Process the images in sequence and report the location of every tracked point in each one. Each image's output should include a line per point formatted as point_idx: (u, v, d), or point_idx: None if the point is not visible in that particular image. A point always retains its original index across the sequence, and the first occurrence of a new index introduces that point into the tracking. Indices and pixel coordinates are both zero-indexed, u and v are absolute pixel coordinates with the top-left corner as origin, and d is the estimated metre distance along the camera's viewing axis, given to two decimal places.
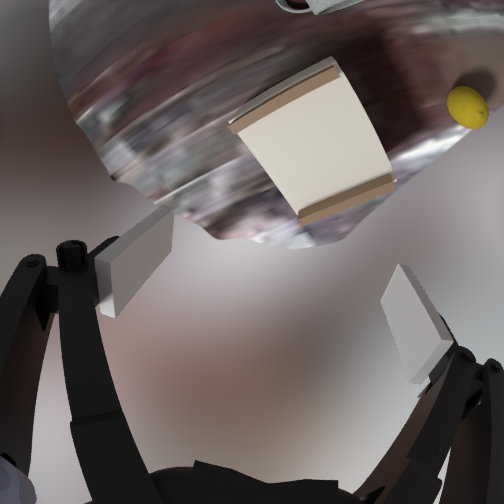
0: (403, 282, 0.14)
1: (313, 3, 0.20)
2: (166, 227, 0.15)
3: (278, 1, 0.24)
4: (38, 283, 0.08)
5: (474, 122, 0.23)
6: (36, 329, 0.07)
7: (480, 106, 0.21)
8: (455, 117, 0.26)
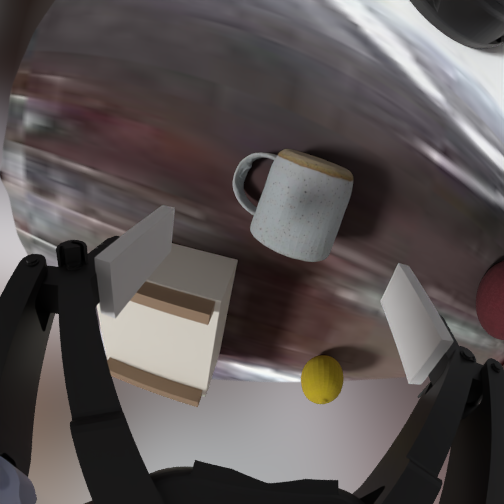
0: (403, 282, 0.14)
1: (256, 223, 0.24)
2: (166, 227, 0.15)
3: (236, 174, 0.27)
4: (38, 283, 0.08)
5: (313, 401, 0.31)
6: (36, 329, 0.07)
7: (330, 395, 0.30)
8: (301, 382, 0.33)
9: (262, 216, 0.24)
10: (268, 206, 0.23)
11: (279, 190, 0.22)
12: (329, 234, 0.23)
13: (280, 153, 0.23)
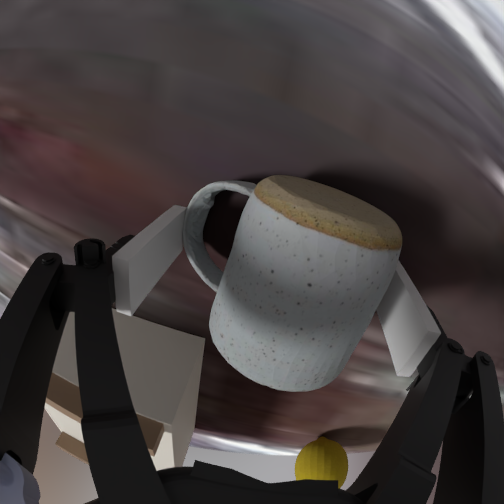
0: None
1: (216, 322, 0.13)
2: (178, 226, 0.15)
3: (188, 219, 0.16)
4: (53, 282, 0.08)
5: None
6: (49, 328, 0.08)
7: None
8: (295, 472, 0.22)
9: (223, 314, 0.12)
10: (233, 300, 0.12)
11: (255, 275, 0.10)
12: (350, 347, 0.11)
13: (258, 188, 0.11)
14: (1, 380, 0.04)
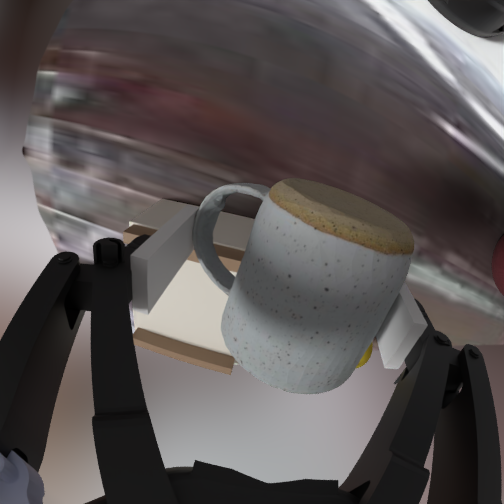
0: None
1: (228, 325, 0.13)
2: (191, 226, 0.15)
3: (198, 222, 0.15)
4: (69, 281, 0.09)
5: None
6: (64, 327, 0.08)
7: (362, 357, 0.31)
8: None
9: (237, 318, 0.12)
10: (248, 304, 0.11)
11: (271, 279, 0.10)
12: (362, 350, 0.11)
13: (273, 192, 0.11)
14: (11, 378, 0.04)
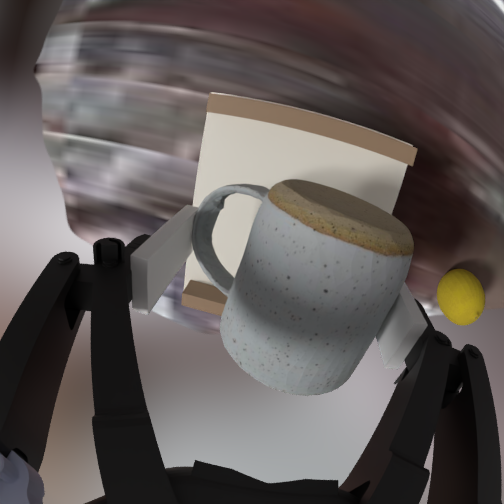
0: None
1: (228, 327, 0.13)
2: (191, 226, 0.15)
3: (197, 222, 0.15)
4: (69, 282, 0.09)
5: (463, 318, 0.22)
6: (64, 327, 0.08)
7: (481, 306, 0.21)
8: (444, 299, 0.24)
9: (236, 319, 0.12)
10: (247, 305, 0.11)
11: (270, 281, 0.10)
12: (362, 351, 0.11)
13: (272, 193, 0.11)
14: (11, 378, 0.04)
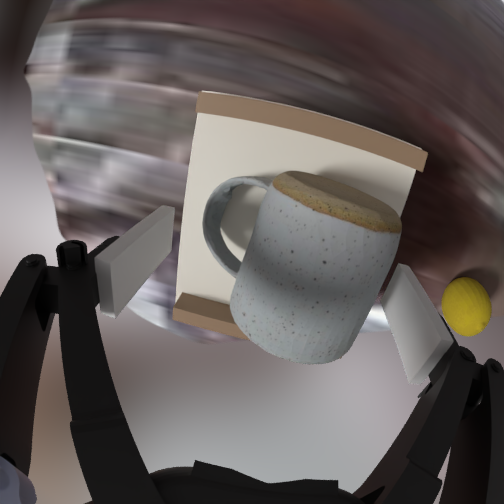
0: (403, 282, 0.14)
1: (237, 302, 0.14)
2: (166, 227, 0.15)
3: (208, 211, 0.17)
4: (38, 283, 0.08)
5: (469, 330, 0.21)
6: (36, 329, 0.07)
7: (487, 317, 0.20)
8: (450, 310, 0.23)
9: (246, 294, 0.14)
10: (256, 280, 0.13)
11: (276, 256, 0.12)
12: (359, 322, 0.13)
13: (276, 181, 0.13)
14: None
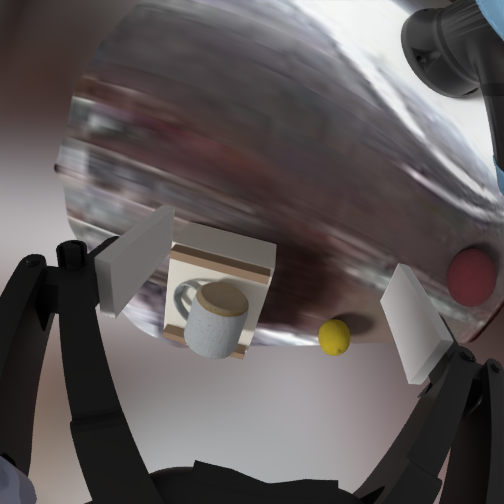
0: (403, 282, 0.14)
1: (185, 333, 0.37)
2: (166, 227, 0.15)
3: (175, 293, 0.39)
4: (38, 283, 0.08)
5: (329, 352, 0.44)
6: (36, 329, 0.07)
7: (342, 346, 0.43)
8: (319, 338, 0.46)
9: (188, 331, 0.36)
10: (190, 327, 0.35)
11: (195, 321, 0.34)
12: (229, 344, 0.35)
13: (197, 293, 0.35)
14: None
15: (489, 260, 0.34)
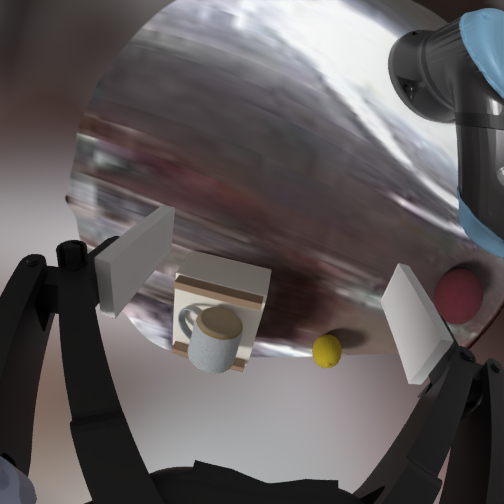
0: (403, 282, 0.14)
1: (189, 351, 0.41)
2: (166, 227, 0.15)
3: (179, 316, 0.44)
4: (38, 283, 0.08)
5: (321, 365, 0.48)
6: (36, 329, 0.07)
7: (333, 360, 0.47)
8: (313, 352, 0.50)
9: (190, 350, 0.41)
10: (192, 346, 0.40)
11: (196, 342, 0.39)
12: (226, 361, 0.40)
13: (197, 319, 0.40)
14: None
15: (475, 281, 0.37)
